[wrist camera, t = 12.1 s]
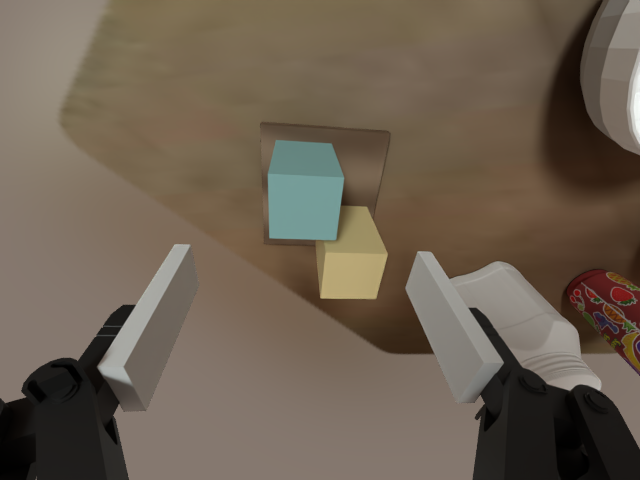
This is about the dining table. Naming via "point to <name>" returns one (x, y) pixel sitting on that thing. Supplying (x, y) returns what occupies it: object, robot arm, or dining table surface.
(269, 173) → the teal rectangular block
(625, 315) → the smoothie
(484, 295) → the jar
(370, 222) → the pale yellow block
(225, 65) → the dining table surface
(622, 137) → the bowl
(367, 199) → the board
